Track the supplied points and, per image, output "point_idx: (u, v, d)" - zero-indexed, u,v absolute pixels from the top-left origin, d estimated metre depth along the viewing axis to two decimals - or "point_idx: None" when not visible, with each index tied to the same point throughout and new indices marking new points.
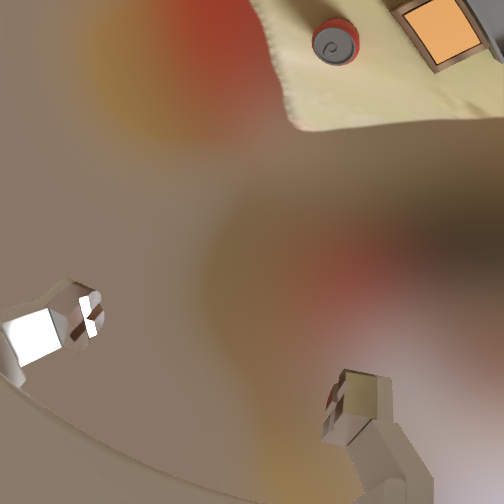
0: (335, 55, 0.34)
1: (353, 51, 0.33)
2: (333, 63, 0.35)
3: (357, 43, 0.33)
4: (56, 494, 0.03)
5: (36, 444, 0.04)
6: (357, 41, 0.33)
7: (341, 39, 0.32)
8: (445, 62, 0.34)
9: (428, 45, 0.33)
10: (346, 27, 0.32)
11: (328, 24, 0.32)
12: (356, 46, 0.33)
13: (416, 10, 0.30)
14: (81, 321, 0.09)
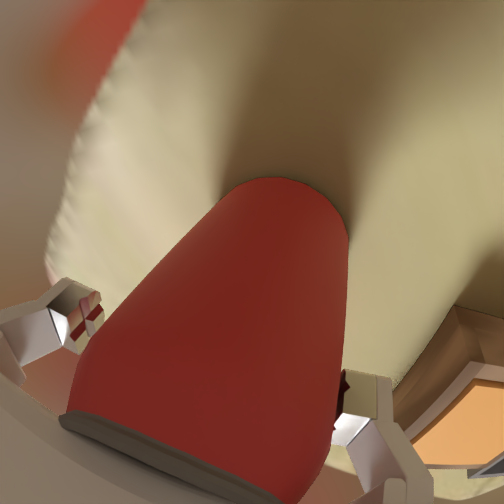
0: None
1: None
2: None
3: None
4: (56, 494, 0.03)
5: (36, 444, 0.04)
6: None
7: None
8: None
9: (424, 441, 0.14)
10: (321, 458, 0.05)
11: (256, 406, 0.05)
12: None
13: (502, 391, 0.11)
14: (81, 321, 0.09)
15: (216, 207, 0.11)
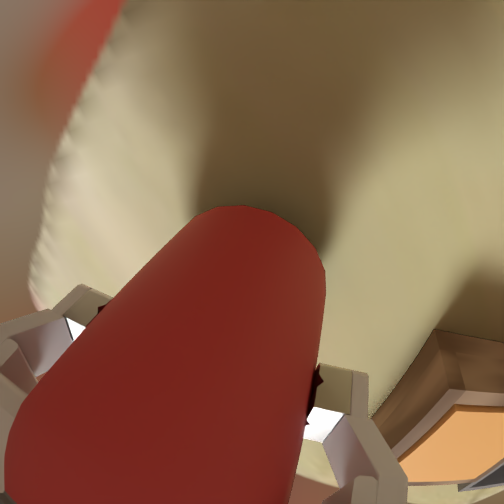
0: None
1: None
2: None
3: None
4: None
5: None
6: None
7: None
8: None
9: (407, 462, 0.14)
10: None
11: None
12: None
13: (485, 415, 0.11)
14: None
15: (164, 247, 0.10)
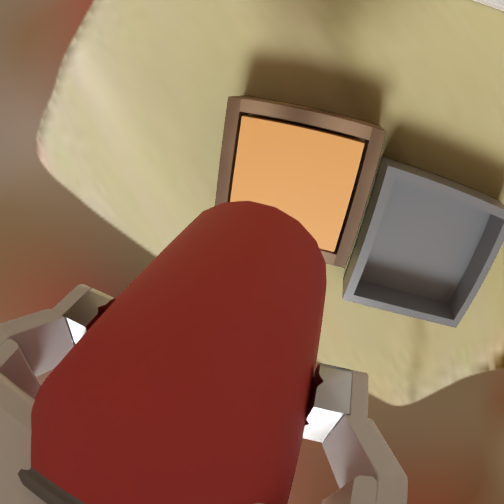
0: None
1: None
2: None
3: None
4: None
5: None
6: None
7: None
8: None
9: (238, 189, 0.25)
10: None
11: (180, 479, 0.04)
12: None
13: (271, 124, 0.21)
14: None
15: (175, 239, 0.10)
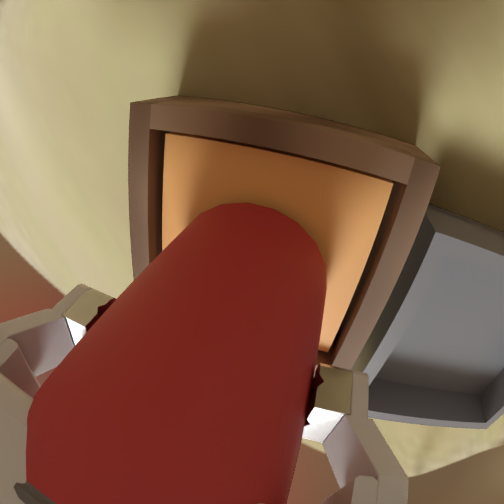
0: None
1: None
2: None
3: None
4: None
5: None
6: None
7: None
8: None
9: None
10: None
11: (171, 496, 0.04)
12: None
13: (216, 147, 0.12)
14: None
15: (171, 243, 0.10)
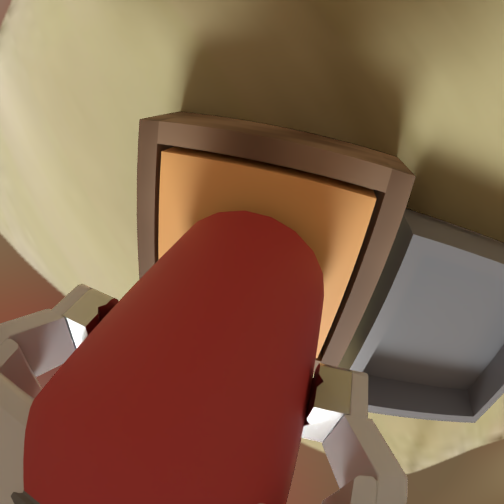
0: None
1: None
2: None
3: None
4: None
5: None
6: None
7: None
8: None
9: None
10: None
11: None
12: None
13: (208, 164, 0.12)
14: None
15: (168, 251, 0.10)
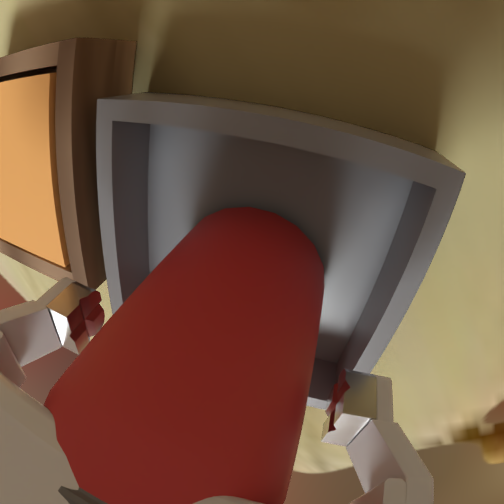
0: None
1: None
2: None
3: None
4: (56, 493, 0.03)
5: (36, 444, 0.04)
6: None
7: None
8: None
9: None
10: None
11: (186, 474, 0.04)
12: None
13: None
14: (81, 321, 0.09)
15: (178, 245, 0.11)
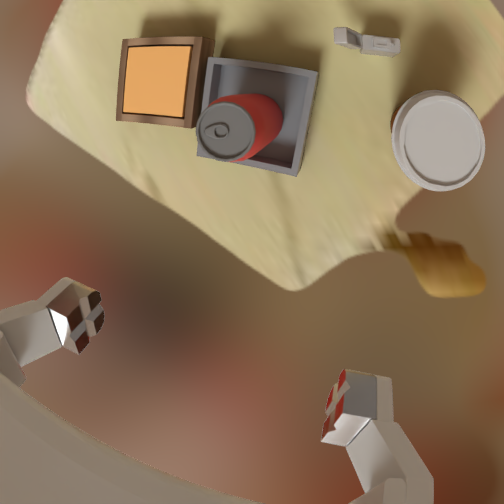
0: (215, 142, 0.27)
1: (240, 155, 0.27)
2: (205, 148, 0.28)
3: (254, 150, 0.28)
4: (56, 494, 0.03)
5: (36, 444, 0.04)
6: (258, 147, 0.28)
7: (240, 130, 0.26)
8: (132, 115, 0.37)
9: (127, 88, 0.35)
10: (262, 122, 0.27)
11: (246, 101, 0.26)
12: (250, 152, 0.28)
13: (142, 48, 0.32)
14: (81, 321, 0.09)
15: None
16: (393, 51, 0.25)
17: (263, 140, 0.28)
